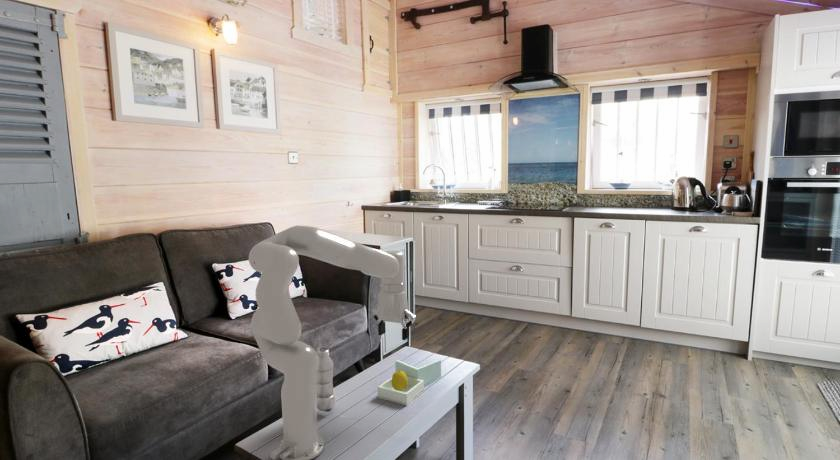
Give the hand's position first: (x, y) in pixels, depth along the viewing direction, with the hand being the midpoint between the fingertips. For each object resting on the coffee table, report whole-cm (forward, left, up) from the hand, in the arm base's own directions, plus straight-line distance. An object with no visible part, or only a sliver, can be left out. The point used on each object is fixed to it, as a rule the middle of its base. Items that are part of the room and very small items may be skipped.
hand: (393, 336), depth 154 cm
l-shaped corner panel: (+15, -1, -21) cm, 26 cm away
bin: (+1, -2, -21) cm, 21 cm away
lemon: (+1, -1, -20) cm, 20 cm away
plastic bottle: (-18, +15, -21) cm, 32 cm away
